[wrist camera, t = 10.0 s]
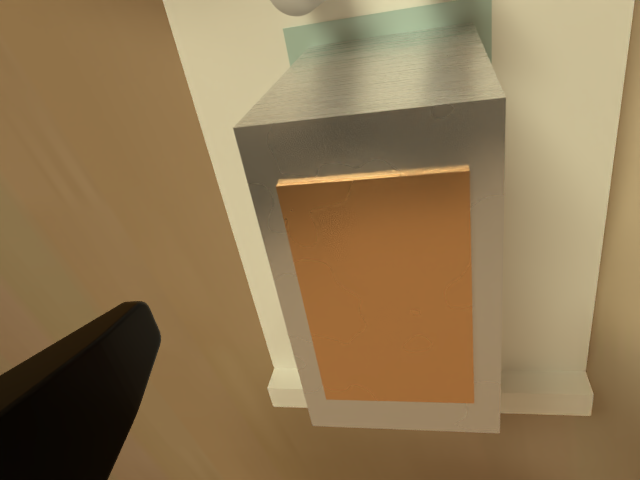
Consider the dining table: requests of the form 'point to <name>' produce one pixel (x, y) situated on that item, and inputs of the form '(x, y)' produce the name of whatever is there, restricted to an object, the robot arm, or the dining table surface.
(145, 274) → the dining table surface
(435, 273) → the block
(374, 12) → the pin tray
